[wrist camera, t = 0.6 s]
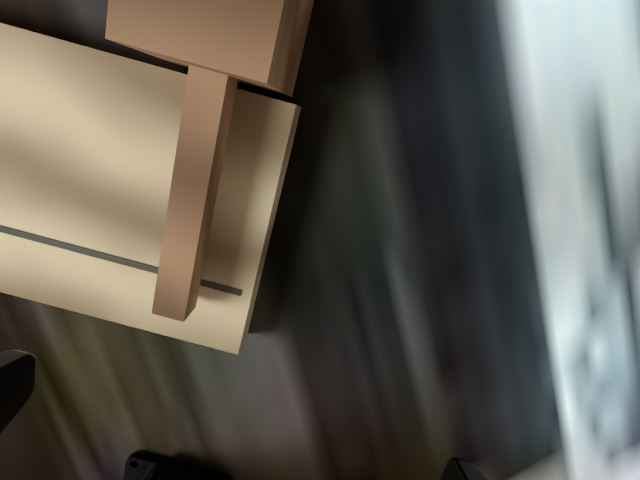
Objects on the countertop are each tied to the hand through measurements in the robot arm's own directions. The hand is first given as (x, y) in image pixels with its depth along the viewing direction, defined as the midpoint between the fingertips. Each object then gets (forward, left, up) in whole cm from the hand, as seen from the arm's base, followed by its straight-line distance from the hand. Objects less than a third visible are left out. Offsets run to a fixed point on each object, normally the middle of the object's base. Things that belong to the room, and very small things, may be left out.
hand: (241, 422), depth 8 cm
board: (+1, +16, -12) cm, 20 cm away
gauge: (+5, +5, -12) cm, 14 cm away
